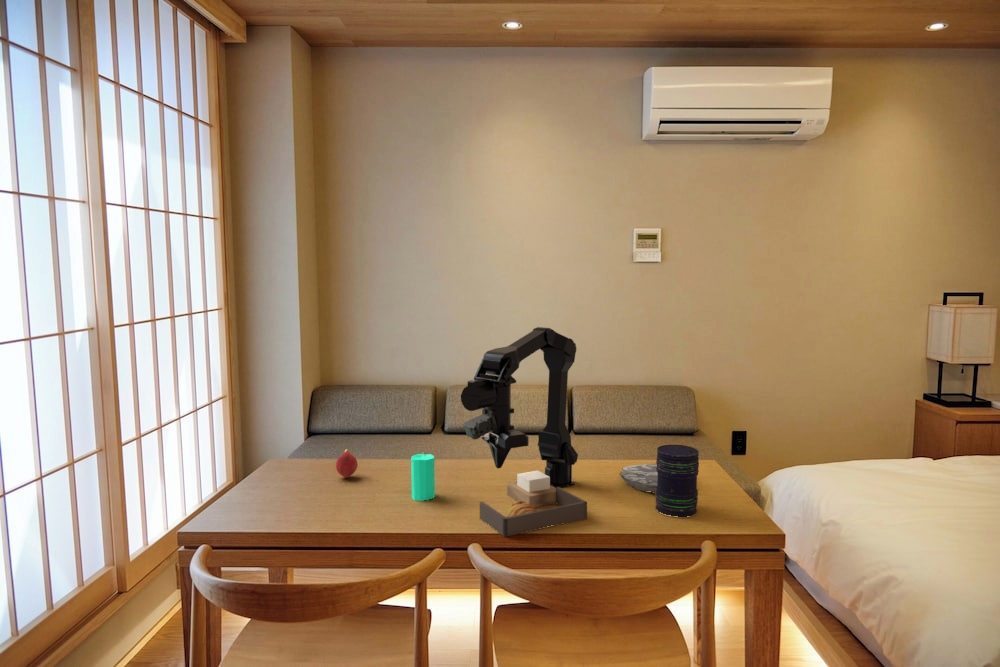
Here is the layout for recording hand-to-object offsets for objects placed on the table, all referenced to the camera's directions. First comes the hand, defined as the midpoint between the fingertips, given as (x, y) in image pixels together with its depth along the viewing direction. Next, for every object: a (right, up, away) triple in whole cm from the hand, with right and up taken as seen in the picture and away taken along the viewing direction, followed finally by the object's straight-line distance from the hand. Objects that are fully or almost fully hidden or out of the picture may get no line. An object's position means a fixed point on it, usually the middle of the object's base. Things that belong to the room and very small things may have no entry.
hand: (498, 467), depth 162 cm
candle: (-19, -10, +11) cm, 24 cm away
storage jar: (+43, -11, +1) cm, 44 cm away
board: (+9, -10, +9) cm, 16 cm away
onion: (-42, -8, +25) cm, 50 cm away
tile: (+9, -7, +9) cm, 14 cm away
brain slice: (+41, -9, +21) cm, 47 cm away
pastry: (+6, -12, -5) cm, 14 cm away
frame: (+8, -11, -4) cm, 14 cm away
